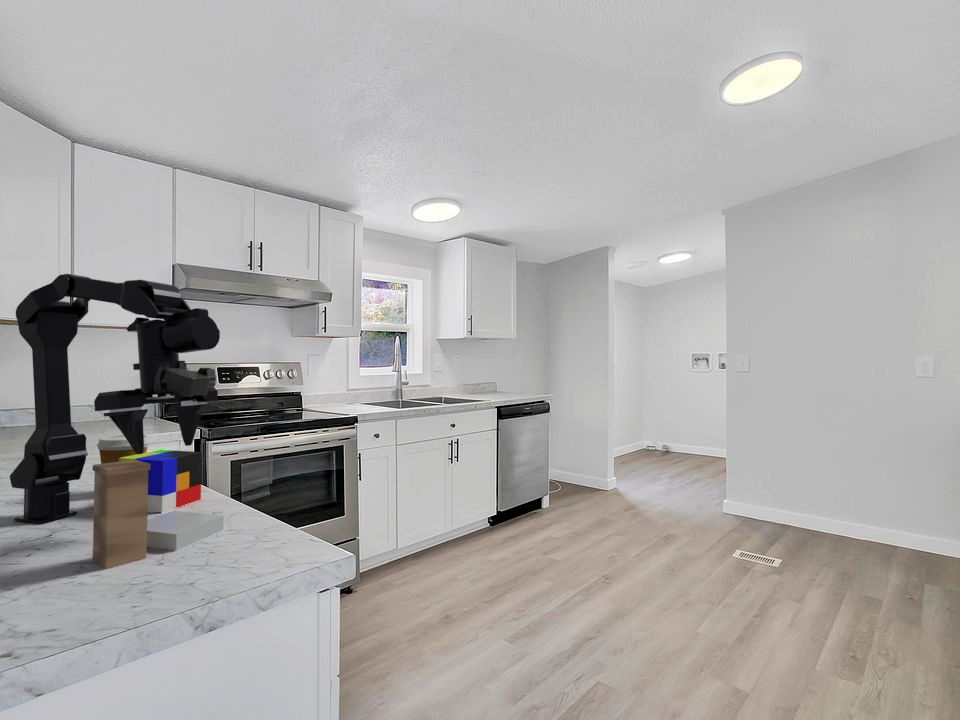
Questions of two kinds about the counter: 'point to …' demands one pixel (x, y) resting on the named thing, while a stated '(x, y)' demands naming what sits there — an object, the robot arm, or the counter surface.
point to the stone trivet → (181, 529)
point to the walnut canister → (120, 512)
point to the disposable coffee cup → (117, 448)
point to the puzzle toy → (171, 478)
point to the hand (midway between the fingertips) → (165, 449)
